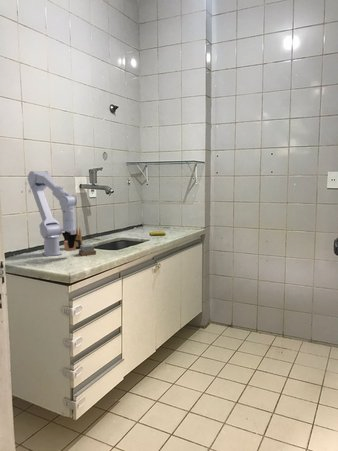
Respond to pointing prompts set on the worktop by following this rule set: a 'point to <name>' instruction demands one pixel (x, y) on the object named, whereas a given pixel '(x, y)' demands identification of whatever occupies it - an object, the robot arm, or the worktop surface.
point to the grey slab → (86, 247)
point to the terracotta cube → (68, 246)
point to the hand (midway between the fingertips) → (69, 247)
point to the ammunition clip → (78, 239)
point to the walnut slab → (87, 253)
